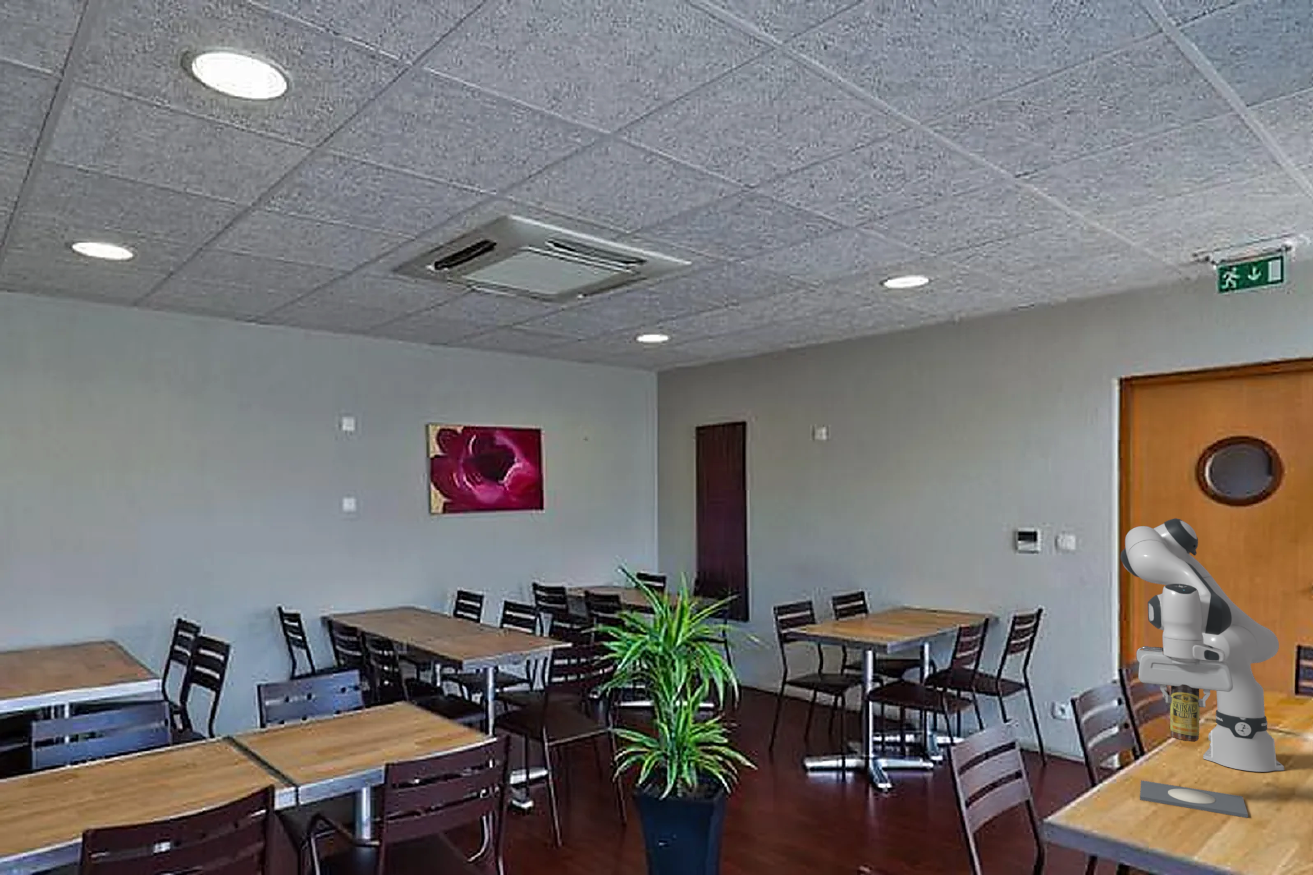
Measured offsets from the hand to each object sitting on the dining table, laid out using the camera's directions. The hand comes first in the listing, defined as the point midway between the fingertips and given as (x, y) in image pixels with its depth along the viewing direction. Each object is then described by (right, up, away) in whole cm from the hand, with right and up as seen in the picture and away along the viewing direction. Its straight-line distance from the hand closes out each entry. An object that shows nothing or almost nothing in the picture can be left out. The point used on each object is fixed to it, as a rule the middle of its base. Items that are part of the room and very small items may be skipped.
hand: (1185, 705), depth 209 cm
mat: (0, -23, -2) cm, 23 cm away
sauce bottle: (0, -9, 0) cm, 9 cm away
